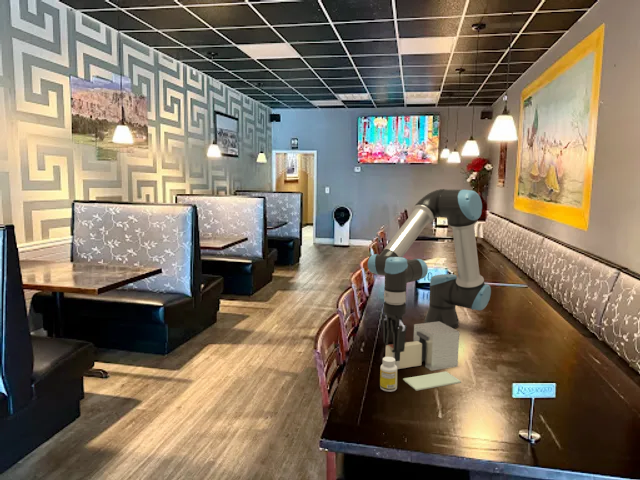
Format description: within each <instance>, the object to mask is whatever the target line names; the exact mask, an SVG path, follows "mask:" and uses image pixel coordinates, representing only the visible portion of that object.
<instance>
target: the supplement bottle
mask: <svg viewBox="0 0 640 480" xmlns="http://www.w3.org/2000/svg"><path fill="white" fill-rule="evenodd" d="M379 371H380V372H379V373H380V374H379V387H380V390H382V391H384V392H391V393H392V392H395V391H396V390H397V389H398V369H397V366H396V365H395V358H393V357H385V356H384V357H382V364H381V365H380V370H379Z"/></svg>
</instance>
